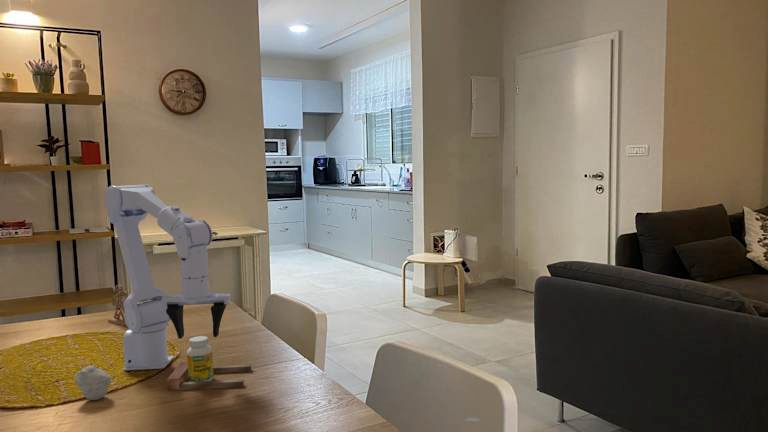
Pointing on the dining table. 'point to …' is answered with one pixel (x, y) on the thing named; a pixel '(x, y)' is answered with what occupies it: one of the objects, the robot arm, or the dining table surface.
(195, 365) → the supplement bottle
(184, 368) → the guide channel
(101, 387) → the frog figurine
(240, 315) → the dining table surface
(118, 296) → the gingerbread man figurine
